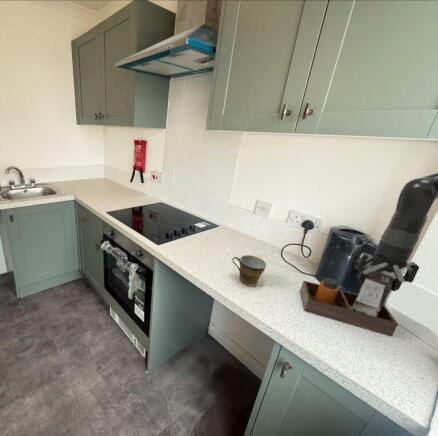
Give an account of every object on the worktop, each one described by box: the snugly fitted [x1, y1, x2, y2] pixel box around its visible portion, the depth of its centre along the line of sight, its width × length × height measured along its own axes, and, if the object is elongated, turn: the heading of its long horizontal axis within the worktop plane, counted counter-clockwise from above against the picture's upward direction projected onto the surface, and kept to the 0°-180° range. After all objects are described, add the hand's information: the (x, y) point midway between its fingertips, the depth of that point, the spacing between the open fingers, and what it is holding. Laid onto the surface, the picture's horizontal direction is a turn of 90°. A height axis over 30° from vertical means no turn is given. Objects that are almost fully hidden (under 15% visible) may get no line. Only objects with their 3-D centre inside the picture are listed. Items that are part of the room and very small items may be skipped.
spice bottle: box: [314, 277, 340, 305], centre depth 88 cm, size 6×6×11 cm
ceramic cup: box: [231, 254, 267, 287], centre depth 102 cm, size 13×10×10 cm
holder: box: [299, 280, 399, 337], centre depth 87 cm, size 13×24×6 cm, turn 66°
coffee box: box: [352, 270, 395, 317], centre depth 83 cm, size 9×6×16 cm
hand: (376, 285), depth 81 cm, fingers closed on coffee box, 8 cm apart
